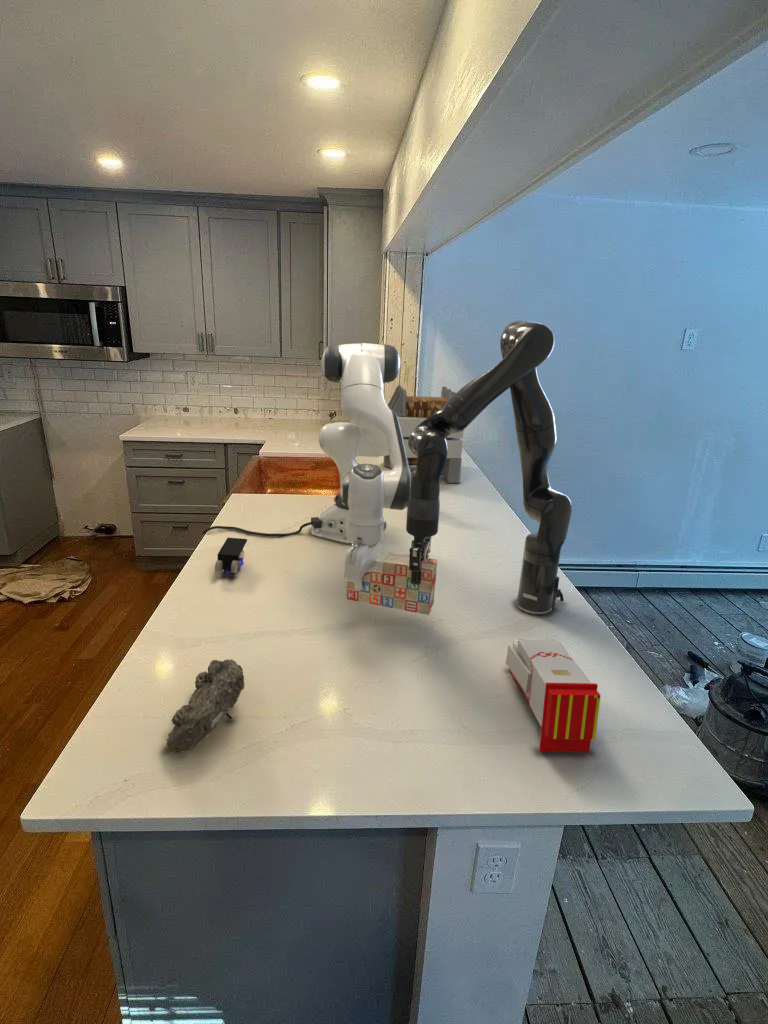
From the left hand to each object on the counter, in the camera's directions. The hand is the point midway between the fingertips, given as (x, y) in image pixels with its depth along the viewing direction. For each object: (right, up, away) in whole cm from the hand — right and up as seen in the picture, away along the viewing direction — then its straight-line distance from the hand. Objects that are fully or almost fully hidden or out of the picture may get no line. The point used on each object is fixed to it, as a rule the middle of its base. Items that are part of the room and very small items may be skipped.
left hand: (363, 582), depth 143 cm
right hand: (+14, +2, -5) cm, 15 cm away
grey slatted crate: (+22, +37, +132) cm, 139 cm away
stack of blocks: (+7, -5, 0) cm, 8 cm away
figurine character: (-40, +1, +25) cm, 47 cm away
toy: (+38, -22, -27) cm, 51 cm away
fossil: (-28, -21, -35) cm, 49 cm away
